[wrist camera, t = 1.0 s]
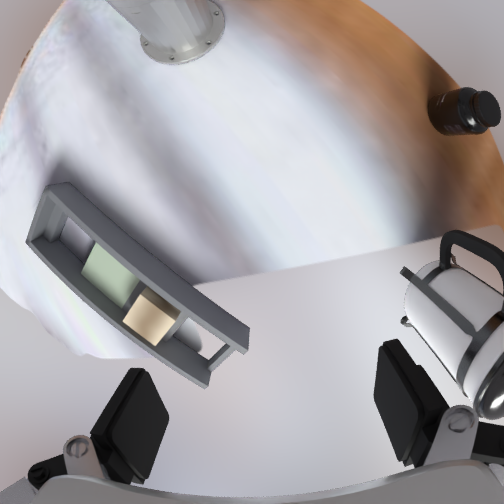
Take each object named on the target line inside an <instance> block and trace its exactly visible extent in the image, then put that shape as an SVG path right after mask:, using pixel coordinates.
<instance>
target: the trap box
mask: <svg viewBox="0 0 504 504" xmlns="http://www.w3.org/2000/svg"><path fill="white" fill-rule="evenodd" d="M68 217H70V218H71V219H72V220H73V221H74V222H75V223H76V224H77V225H78V226H79V227H80V228H81V229H82V230H83V231H84V232H85V233H86V234H88V235H89V236H90V237H91V238H92V239H93V240H94V241H95V242H96V243H95V245H94V247H93V249H92V251H91V253H90V255H89V257H88V259H87V261H86V264H85V265H84V264H83V263H82V262H81V261H80V260H79V259H78V258H77V257H76V256H75V255H74V254H73V253H72V252H71V251H70V250H69V249H68V248H66V247H65V246H64V245H63V244H62V243H61V242H60V241H59V240H58V239H59V236H60V234H61V232H62V229H63V227H64V225H65V222H66V220H67V218H68ZM26 244H27V245H28V246H29V247H30V248H31V249H32V250H33V252H34V253H35V254H36V255H37V256H38V257H39V258H40V259H41V260H42V261H43V262H44V263H45V264H46V265H47V266H48V267H49V268H50V269H51V270H52V272H53V273H54V274H55V275H56V276H58V277H59V278H60V279H61V280H62V281H63V282H64V283H65V284H66V285H67V286H68V287H69V288H70V289H71V290H72V291H73V292H74V293H75V294H76V295H78V296H79V297H80V298H81V299H82V300H83V301H84V302H85V303H86V304H88V305H89V306H90V307H91V308H92V309H93V310H94V311H96V312H97V313H98V314H99V315H100V316H102V317H103V318H104V319H105V320H106V321H108V322H109V323H110V324H111V325H113V326H114V327H115V328H116V329H118V330H119V331H120V332H121V333H123V334H124V335H125V336H127V337H128V338H129V339H130V340H132V341H133V342H134V343H136V344H137V345H138V346H140V347H141V348H143V349H144V350H145V351H147V352H148V353H150V354H151V355H152V356H154V357H155V358H157V359H158V360H160V361H161V362H162V363H164V364H165V365H167V366H168V367H170V368H171V369H173V370H174V371H176V372H178V373H179V374H181V375H182V376H184V377H185V378H187V379H189V380H190V381H192V382H194V383H195V384H197V385H198V386H200V387H202V388H203V389H205V388H207V387H208V384H209V380H210V376H211V372H212V371H213V370H214V369H215V368H216V367H218V366H219V365H220V364H221V363H222V362H223V361H224V360H225V359H226V358H227V357H228V356H230V355H231V354H232V353H233V352H234V351H235V350H237V351H239V352H240V353H242V354H243V355H244V354H245V353H246V352H247V351H248V346H249V332H250V328H249V327H248V326H246V325H245V324H243V323H242V322H240V321H239V320H238V319H236V318H235V317H233V316H232V315H231V314H229V313H228V312H226V311H225V310H224V309H222V308H221V307H220V306H218V305H217V304H215V303H214V302H213V301H211V300H210V299H209V298H207V297H206V296H204V295H203V294H202V293H201V292H199V291H198V290H197V289H195V288H194V287H193V286H191V285H190V284H189V283H187V282H186V281H185V280H184V279H182V278H181V277H180V276H178V275H177V274H176V273H175V272H173V271H172V270H171V269H169V268H168V267H167V266H166V265H164V264H163V263H162V262H161V261H159V260H158V259H157V258H156V257H154V256H153V255H152V254H151V253H150V252H148V251H147V250H146V249H145V248H143V247H142V246H141V245H140V244H139V243H137V242H136V241H135V240H134V239H133V238H131V237H130V236H129V235H128V234H127V233H125V232H124V231H123V230H122V229H121V228H120V227H118V226H117V225H116V224H115V223H114V222H113V221H111V220H110V219H109V218H108V217H107V216H106V215H105V214H103V213H102V212H101V211H100V210H99V209H98V208H97V207H96V206H94V205H93V204H92V203H91V202H90V201H89V200H88V199H87V198H86V197H85V196H83V195H82V194H81V193H80V192H79V191H78V190H77V189H76V188H75V187H74V186H73V185H72V184H70V183H69V182H65V183H59V184H54V185H48V186H46V187H45V189H44V192H43V194H42V197H41V199H40V202H39V204H38V207H37V210H36V212H35V215H34V218H33V221H32V224H31V227H30V230H29V233H28V236H27V239H26ZM147 286H149V287H150V288H151V289H152V290H154V291H155V292H156V293H157V294H159V295H160V296H161V297H163V298H164V299H165V300H167V301H168V302H169V303H170V304H172V305H173V306H174V307H176V308H177V309H178V310H180V311H181V312H180V314H179V316H178V318H177V320H176V322H175V323H174V324H173V325H172V326H171V328H170V329H169V330H168V331H167V333H166V334H165V335H164V336H163V337H162V339H161V340H160V341H159V342H158V344H157V345H156V346H155V345H153V344H152V343H150V342H149V341H148V340H146V339H145V338H144V337H142V336H141V335H140V334H138V333H137V332H136V331H134V330H133V329H132V328H130V327H129V326H128V325H127V324H125V323H124V322H123V320H124V318H125V317H126V315H127V314H128V312H129V310H130V309H131V307H132V306H133V304H134V303H135V301H136V300H137V298H138V297H139V295H140V294H141V293H142V292H143V290H144V289H145V288H146V287H147ZM188 317H189V318H191V319H192V320H194V321H195V322H197V323H198V324H199V325H201V326H202V327H203V328H205V329H206V330H208V331H209V332H210V333H212V334H213V335H215V336H216V337H218V338H219V339H221V340H222V341H224V342H225V343H226V344H225V345H224V346H223V347H222V348H221V349H220V350H219V351H218V352H217V353H216V354H215V355H214V356H213V357H212V358H211V359H210V360H208V359H206V358H204V357H203V356H201V355H200V354H198V353H197V352H195V351H194V350H192V349H191V348H189V347H188V346H187V345H185V344H184V343H182V342H181V341H179V340H178V339H177V338H175V337H174V336H172V335H173V334H174V333H175V332H176V331H177V329H178V328H179V327H180V326H181V325H182V324H183V322H184V321H185V320H186V319H187V318H188Z"/></svg>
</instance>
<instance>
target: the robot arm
mask: <svg viewBox="0 0 504 504" xmlns="http://www.w3.org/2000/svg"><path fill="white" fill-rule="evenodd" d="M105 1H107V2H108V3H109V4H110V5H111V6H112V7H113V8H114V9H115V10H116V11H117V12H119V13H120V14H121V15H122V16H123V17H124V18H125V19H126V20H127V21H128V22H129V23H130V24H131V25H132V26H133V27H134V28H136V29H137V30H138V31H139V32H140V33H141V37H140V41H141V46H142V48H143V50H144V52H145V53H146V54H147V55H148V56H149V57H150V58H151V59H153V60H155V61H156V62H159V63H162V64H169V65H176V64H183V63H188V62H190V61H193V60H196V59H198V58H200V57H202V56H203V55H205V54H206V53H208V52H209V51H210V50H211V49H212V48H213V47H215V46H216V44H217V43H218V42H219V40H220V39H221V37H222V35H223V32H224V28H225V21H224V16H223V14H222V11H221V10H220V8H219V7H218V6H217V5H216V4H214V3H213V2H211V1H209V0H105ZM208 44H210V45H208ZM172 59H174V60H172ZM374 401H375V403H376V406H377V408H378V411H379V413H380V416H381V418H382V420H383V423H384V426H385V428H386V431H387V433H388V436H389V438H390V441H391V443H392V446H393V449H394V451H395V454H396V457H397V459H398V461H399V462H400V461H403V464H404V466H405V467H406V466H408V465H411V464H413V465H414V467H415V468H414V469H411V470H408V471H404V472H401V473H398V474H394V475H391V476H388V477H384V478H381V479H377V480H373V481H369V482H365V483H361V484H356V485H352V486H347V487H342V488H337V489H332V490H326V491H320V492H313V493H306V494H297V495H287V496H274V497H211V496H198V495H187V494H178V493H172V492H165V491H159V490H153V489H147V488H142V487H137V486H132V485H130V484H131V482H134V483H138V484H144V481H145V479H148V477H149V475H150V472H151V470H152V467H153V464H154V461H155V458H156V455H157V453H158V450H159V447H160V444H161V441H162V439H163V436H164V433H165V430H166V427H167V425H168V422H169V414H168V412H167V410H166V408H165V406H164V404H163V402H162V400H161V398H160V396H159V394H158V392H157V390H156V387H155V385H154V383H153V381H152V378H151V376H150V374H149V373H148V372H147V371H145V369H143V368H130V369H129V370H128V372H127V374H126V375H125V377H124V378H123V380H122V381H121V383H120V385H119V386H118V388H117V389H116V391H115V393H114V394H113V396H112V397H111V399H110V401H109V402H108V404H107V405H106V407H105V409H104V410H103V412H102V414H101V415H100V417H99V419H98V420H97V422H96V423H95V425H94V427H93V428H92V430H91V432H90V434H91V437H90V438H89V437H87V436H84V435H77V436H74V437H72V438H70V439H69V440H68V441H67V442H66V443H65V445H64V448H63V454H62V455H59V456H56V457H53V458H51V459H48V460H45V461H42V462H39V463H37V464H35V465H33V466H32V467H31V468H30V470H29V472H28V479H27V478H25V477H24V478H22V479H20V480H19V481H17V482H16V483H14V484H13V485H11V486H9V487H8V488H6V489H5V490H3V491H1V492H0V504H504V426H501V425H496V424H490V423H485V422H480V421H479V417H478V415H477V413H476V411H475V410H474V409H472V408H471V407H469V406H465V405H456V406H453V407H451V408H450V407H449V405H448V404H447V402H446V401H445V399H444V398H443V396H442V395H441V393H440V392H439V390H438V389H437V387H436V386H435V385H434V383H433V381H432V380H431V378H430V377H429V376H428V374H427V373H426V371H425V370H424V368H423V367H422V366H421V365H416V364H415V362H414V361H413V359H412V358H411V357H410V355H409V354H408V352H407V351H406V349H405V348H404V347H403V345H402V344H401V342H400V341H399V340H398V339H393V340H389V341H385V342H383V346H380V347H379V353H378V362H377V371H376V380H375V387H374Z"/></svg>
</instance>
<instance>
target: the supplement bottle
mask: <svg viewBox="0 0 504 504" xmlns="http://www.w3.org/2000/svg"><path fill="white" fill-rule="evenodd" d="M428 114H429V118H430V121H431V123H432V125H433V126H434V127H435V129H436V130H437V131H438V132H440V133H441V134H443V135H447V136H455V135H478V134H482V133H484V132H485V131H486V130H487V129H488V127H495V126H497V125H498V124H499V123H500V119H501V110H500V107H499V104H498V102H497V100H496V98H495V97H494V96H493V95H492V94H491V93H490V92H488V91H476V90H475V89H473V88H469V87H464V88H460V89H456V90H453V91H449V92H446V93H442V94H439V95H436V96H434V97H433V98H432V99H431V100H430V102H429V106H428Z"/></svg>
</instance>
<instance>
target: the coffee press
mask: <svg viewBox="0 0 504 504" xmlns="http://www.w3.org/2000/svg"><path fill="white" fill-rule="evenodd" d="M453 244H456V245H458V246H461V247H463V248H464V249H466V250H468V251H470V252H472V253H474V254H476V255H478V256H480V257H482V258H483V259H485V260H487V261H489V262H490V263H491V264H493V265H494V266H495V267H496V268H497V270H498V271H499V273H500V275H501V278H502V281H503V289H504V252H503V251H502V250H500V249H499V248H498V247H496V246H494V245H492V244H490V243H489V242H487V241H484V240H482V239H480V238H478V237H475V236H473V235H471V234H469V233H466V232H464V231H460V230H452V231H449V232H447V233H445V234H444V235H443V237H442V240H441V244H440V260H438V261H434V262H431V263H429V264H427V265H426V266H424V267H423V268H421V269H420V270H419V271H418V272H417V273H416V274H414V273H412V272H411V271H410V270H409V269H407V268H406V267H403V269H402V270H401V272H400V274H402V275H403V276H404V277H405V278H406V279H408V280H409V281H410V284H409V286H408V288H407V292H406V294H405V301H404V306H405V312H406V315H407V316H404V317H403V318H402V319H401V324H403V325H404V326H406V327H413V328H414V329H415V330H416V331H417V333H418V334H419V335H420V336H421V338H422V339H423V340H424V341H425V343H426V344H427V345H428V346H429V348H430V349H431V350H432V352H433V353H434V354H435V355H436V357H437V358H438V359H439V361H440V362H441V363H442V365H443V366H444V367H445V369H446V370H447V371H448V373H449V374H450V375H451V377H452V378H453V380H454V381H455V382H456V383H457V385H458V387H459V388H460V390H461V391H462V392H463V394H464V395H465V396H466V397H468V398H469V399H470V400H471V402H472V403H473V409H474V410H475V411H476V413H477V415H478V417H481V418H483V417H484V418H486V419H489V420H495V419H499V418H501V417H504V291H503V295H502V294H501V293H500V292H498V291H497V290H495V289H494V288H493V287H491V286H490V285H488V284H486V283H485V282H484V281H482V280H480V279H479V278H478V277H476V276H474V275H473V274H471V273H470V272H468V271H467V270H465V269H464V268H462V267H460V266H459V265H457V264H456V260H455V256H453V254H452V253H451V247H452V245H453ZM451 258H452V261H453V263H454V264H452V263H450V260H451ZM407 320H410V322H411V323H412V324H413V325H411V324H409V323H406V322H407Z"/></svg>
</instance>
